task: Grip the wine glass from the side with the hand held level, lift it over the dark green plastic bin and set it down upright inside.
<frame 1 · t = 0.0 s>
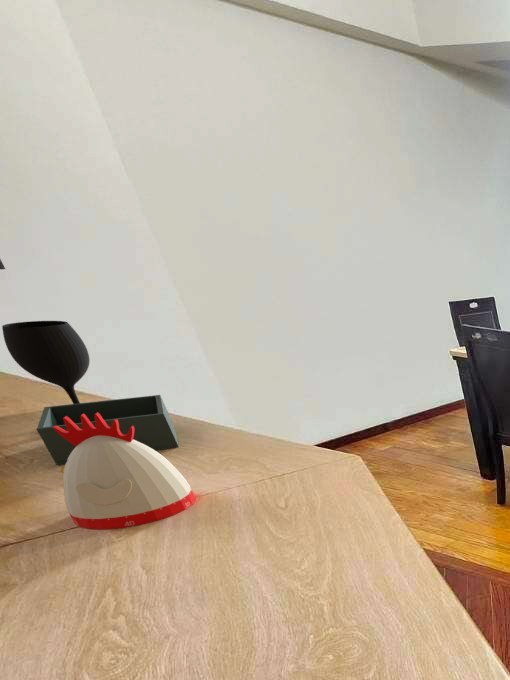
kitchen timer: (138, 510, 91), on the counter
bin: (120, 443, 115), on the counter
wine glass: (88, 426, 123), on the counter
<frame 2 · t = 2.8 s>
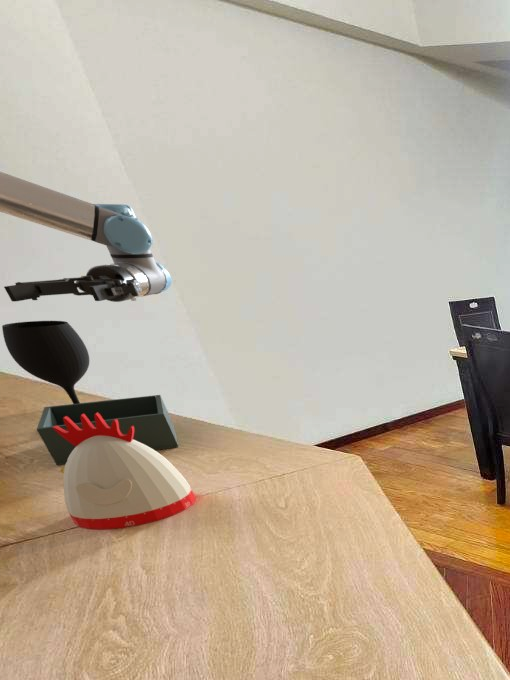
hand: (52, 294, 118), 24 cm above the counter, tool horizontal, fingers open, 13 cm apart
nothing on the counter moved.
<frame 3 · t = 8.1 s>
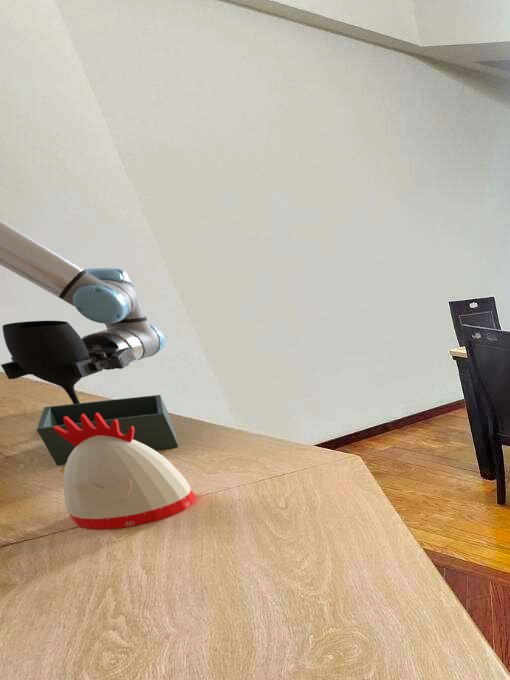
hand: (42, 371, 114), 12 cm above the counter, tool horizontal, fingers closed on wine glass, 10 cm apart
wine glass: (88, 426, 123), on the counter, touching gripper
everything else where it was.
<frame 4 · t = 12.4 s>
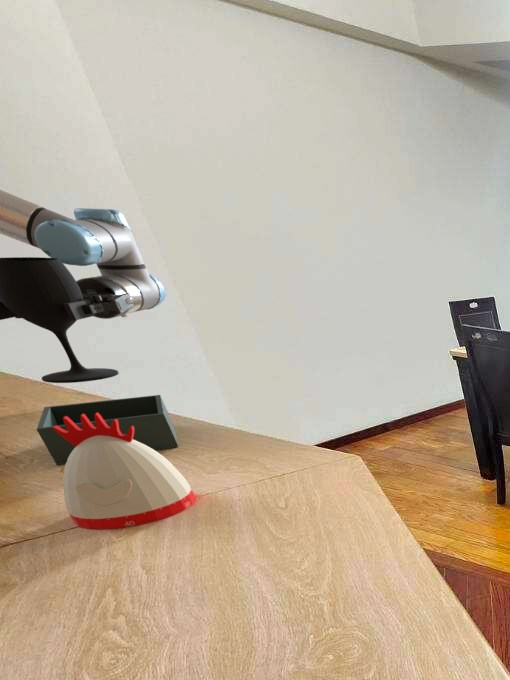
hand: (30, 312, 102), 24 cm above the counter, tool horizontal, fingers closed on wine glass, 10 cm apart
wine glass: (82, 377, 111), point 12 cm above the counter, touching gripper
everything else where it was.
when the fingers open (13 cm above the counter, at t = 16.8 s): wine glass stays where it is, resting on bin.
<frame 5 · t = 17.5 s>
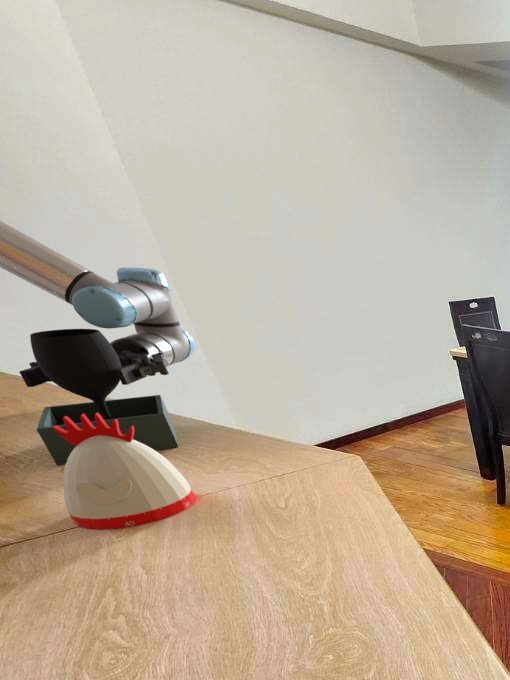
hand: (74, 378, 105), 13 cm above the counter, tool horizontal, fingers open, 13 cm apart
wine glass: (119, 441, 114), resting on bin
everything else where it was.
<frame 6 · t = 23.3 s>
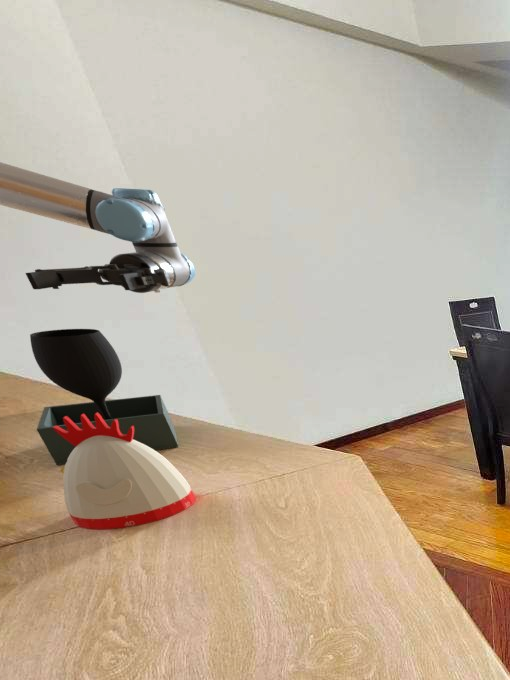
hand: (78, 281, 109), 28 cm above the counter, tool horizontal, fingers open, 13 cm apart
nothing on the counter moved.
at the end: wine glass inside the target area in the bin (0.0 cm from its centre), point 0.4 cm above the bin's base; wine glass tilted 0°; the gripper is holding nothing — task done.
